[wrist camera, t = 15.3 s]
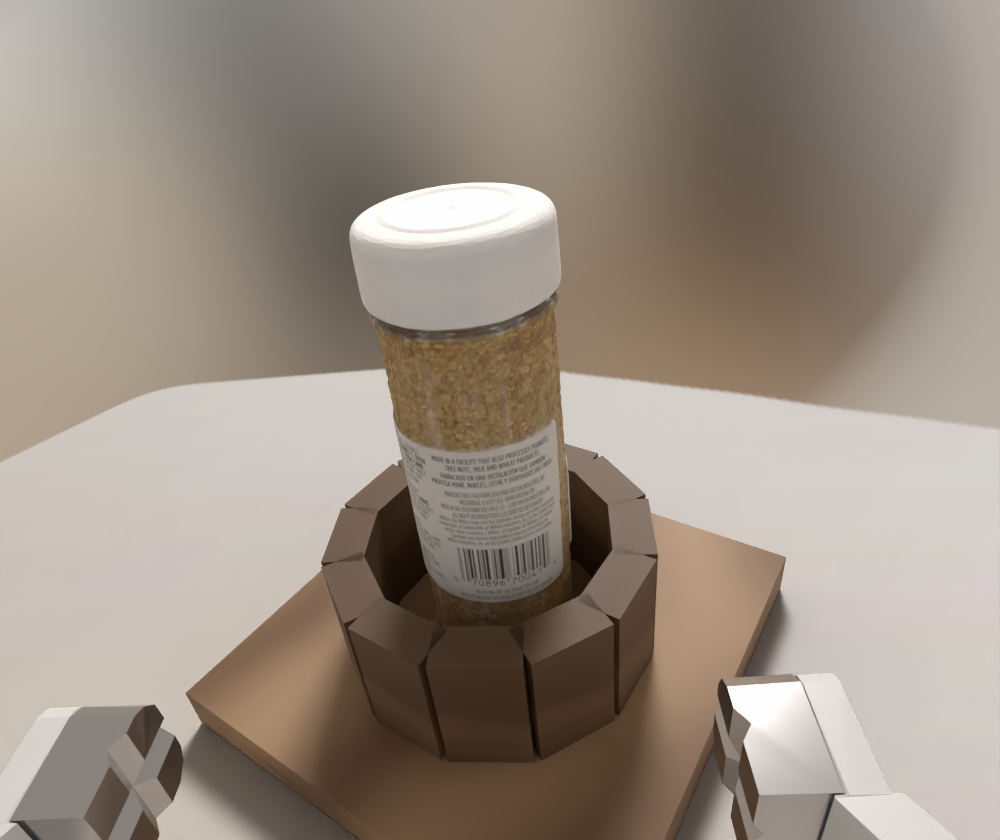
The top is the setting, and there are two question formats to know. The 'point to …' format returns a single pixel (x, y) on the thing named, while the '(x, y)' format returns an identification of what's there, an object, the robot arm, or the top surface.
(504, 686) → the walnut collar block
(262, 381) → the top surface
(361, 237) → the sprinkles bottle
